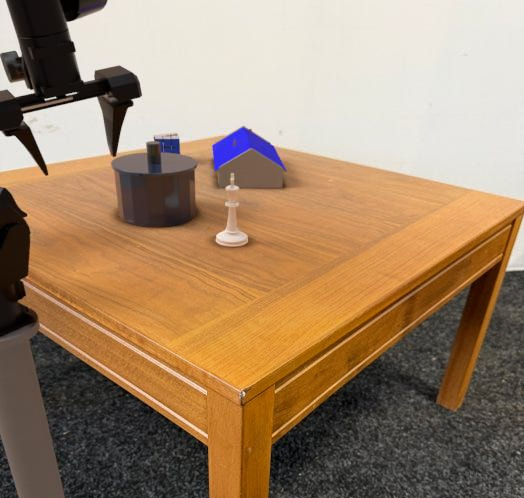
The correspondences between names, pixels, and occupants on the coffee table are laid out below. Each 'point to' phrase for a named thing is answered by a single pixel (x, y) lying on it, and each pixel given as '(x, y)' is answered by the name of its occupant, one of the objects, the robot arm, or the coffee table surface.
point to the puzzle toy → (168, 142)
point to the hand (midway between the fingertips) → (80, 165)
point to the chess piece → (232, 220)
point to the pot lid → (153, 163)
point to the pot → (156, 199)
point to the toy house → (247, 161)
